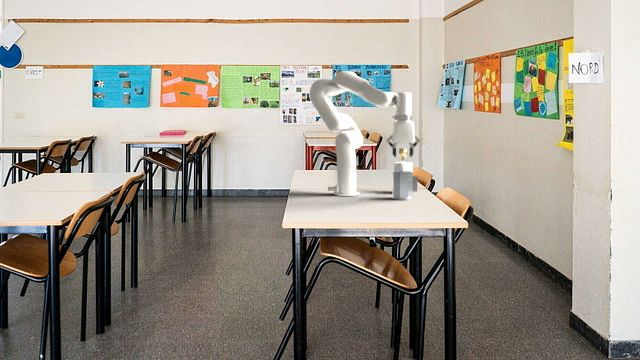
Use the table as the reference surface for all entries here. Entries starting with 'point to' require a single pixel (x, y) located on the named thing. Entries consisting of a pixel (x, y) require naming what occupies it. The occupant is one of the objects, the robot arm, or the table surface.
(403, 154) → the plunger
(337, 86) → the robot arm
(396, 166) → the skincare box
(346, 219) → the table surface
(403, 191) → the pale grey carton
